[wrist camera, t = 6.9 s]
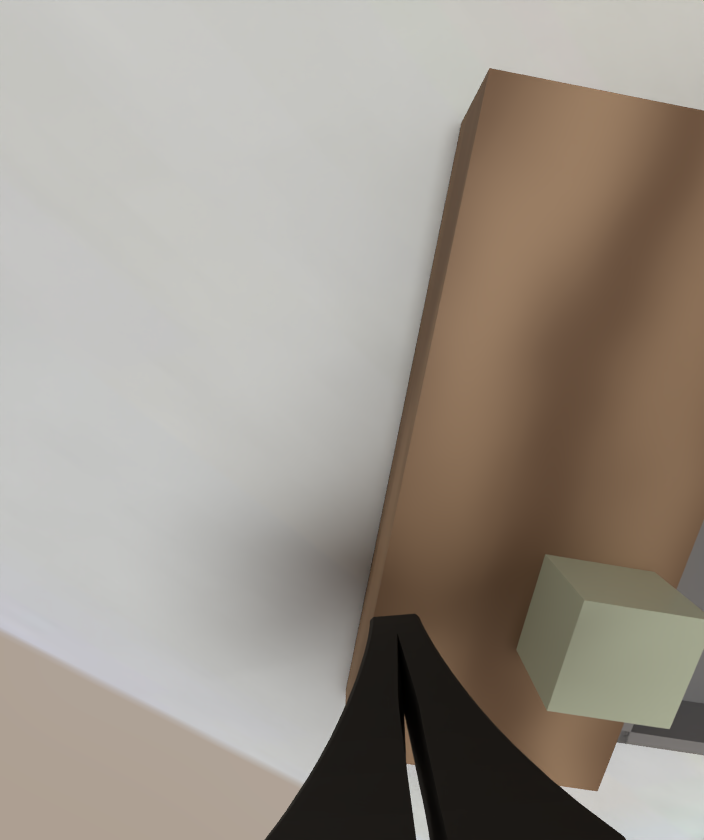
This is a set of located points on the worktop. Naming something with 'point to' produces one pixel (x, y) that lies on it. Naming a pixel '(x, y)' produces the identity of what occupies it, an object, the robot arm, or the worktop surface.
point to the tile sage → (610, 642)
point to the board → (549, 388)
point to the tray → (700, 707)
